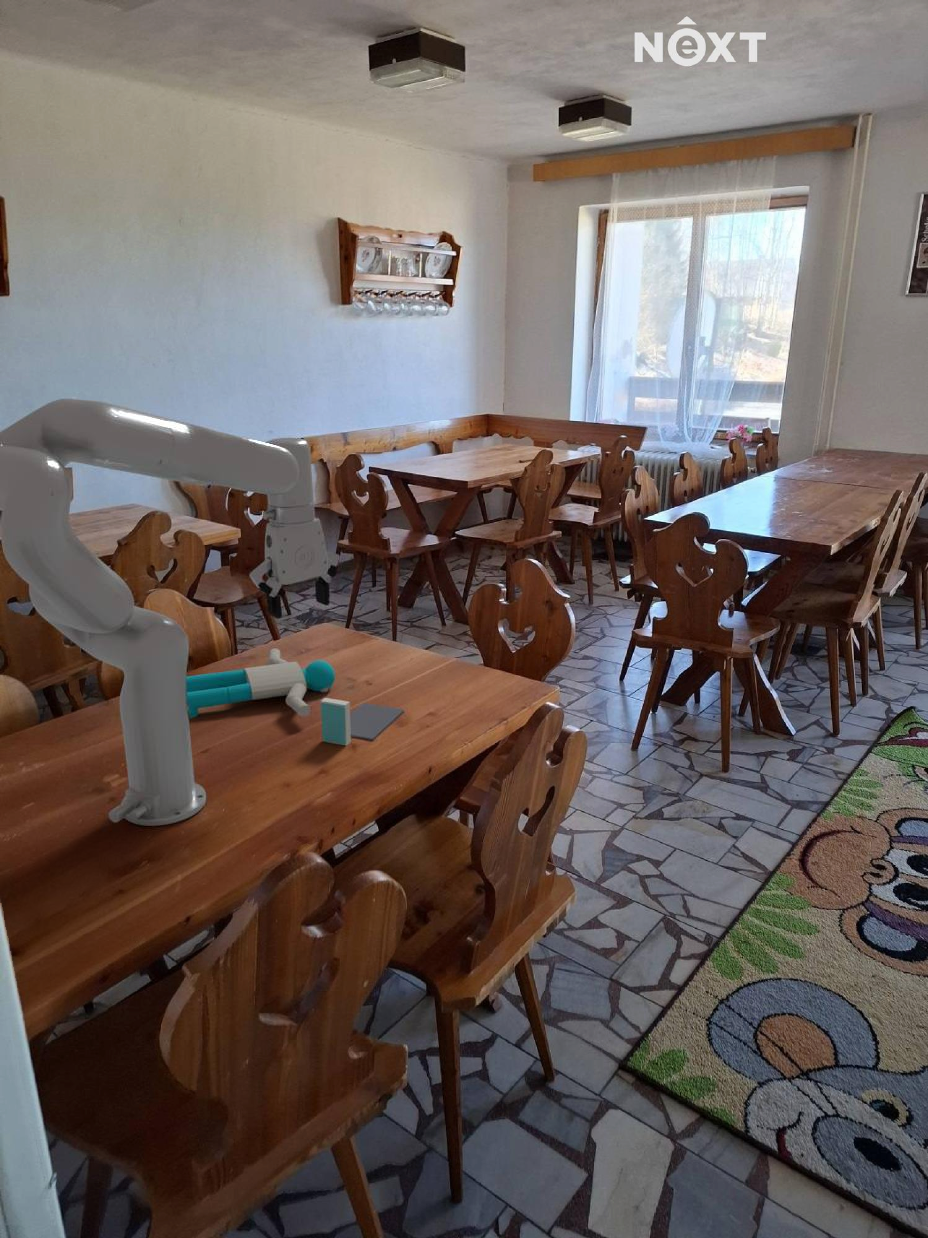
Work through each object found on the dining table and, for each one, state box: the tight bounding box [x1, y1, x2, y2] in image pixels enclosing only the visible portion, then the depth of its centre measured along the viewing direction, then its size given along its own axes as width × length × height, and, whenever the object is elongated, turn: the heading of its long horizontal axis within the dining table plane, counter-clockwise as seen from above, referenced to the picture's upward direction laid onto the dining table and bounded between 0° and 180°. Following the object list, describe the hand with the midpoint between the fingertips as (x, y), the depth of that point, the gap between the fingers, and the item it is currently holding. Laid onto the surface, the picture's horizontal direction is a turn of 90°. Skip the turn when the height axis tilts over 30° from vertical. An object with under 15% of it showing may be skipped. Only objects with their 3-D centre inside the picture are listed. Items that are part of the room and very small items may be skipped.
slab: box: [320, 697, 352, 746], centre depth 154 cm, size 2×5×8 cm, turn 69°
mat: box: [350, 702, 405, 741], centre depth 163 cm, size 14×9×1 cm, turn 160°
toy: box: [186, 648, 336, 719], centre depth 174 cm, size 34×6×30 cm
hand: (299, 609), depth 148 cm, fingers open, 9 cm apart
